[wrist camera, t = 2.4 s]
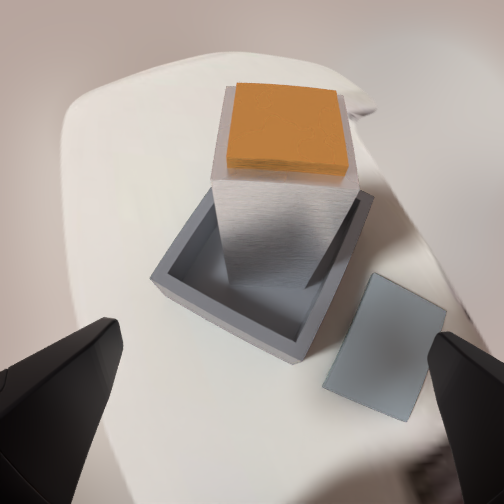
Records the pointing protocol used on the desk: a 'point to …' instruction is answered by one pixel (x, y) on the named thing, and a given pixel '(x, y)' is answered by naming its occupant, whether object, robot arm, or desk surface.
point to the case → (249, 297)
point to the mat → (386, 349)
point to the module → (281, 181)
